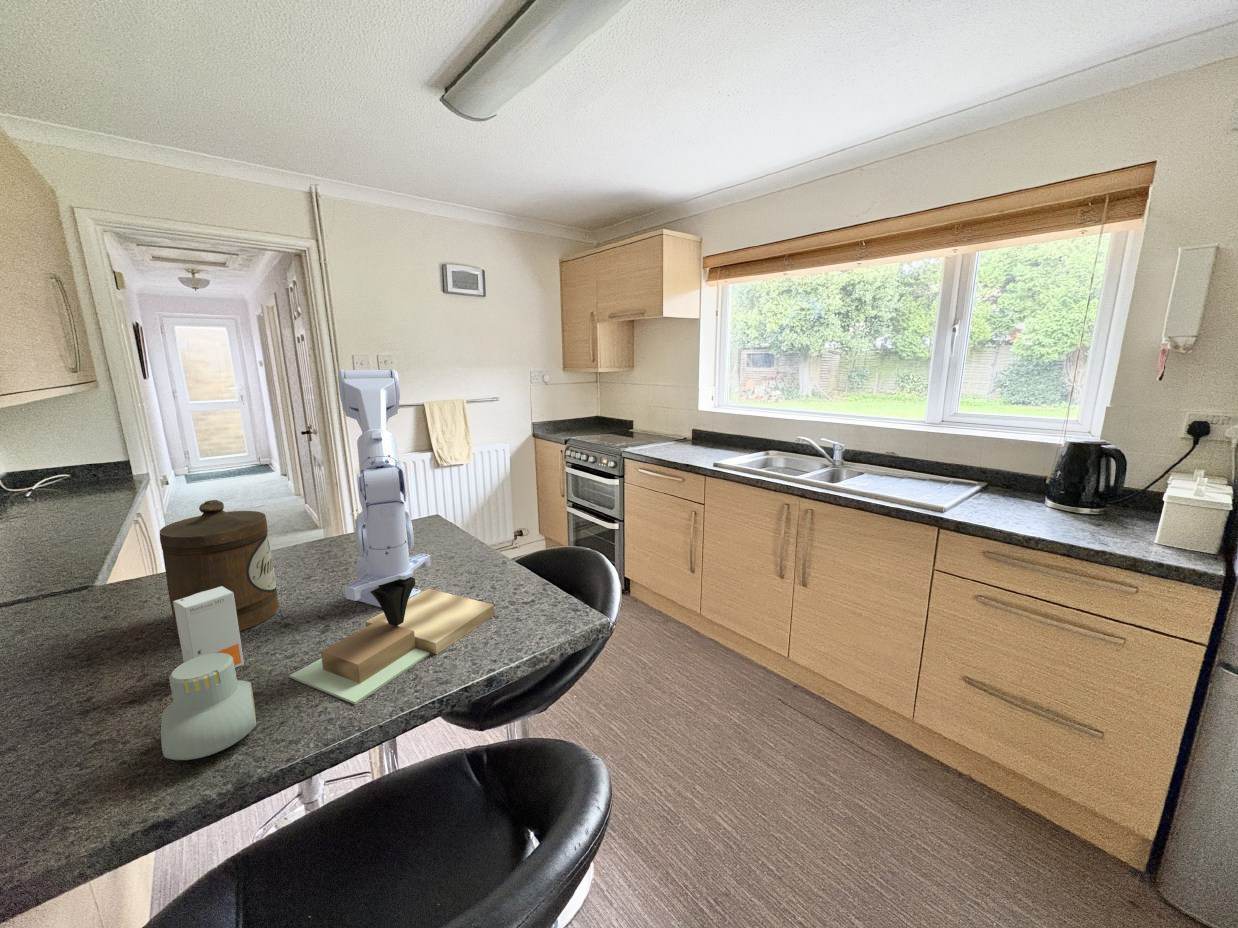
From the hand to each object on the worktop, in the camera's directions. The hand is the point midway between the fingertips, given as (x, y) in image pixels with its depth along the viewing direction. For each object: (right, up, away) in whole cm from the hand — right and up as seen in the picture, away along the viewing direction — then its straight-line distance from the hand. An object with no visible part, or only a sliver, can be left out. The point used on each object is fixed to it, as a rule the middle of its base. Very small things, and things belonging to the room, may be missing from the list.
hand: (395, 622), depth 81 cm
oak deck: (+3, -2, +7) cm, 8 cm away
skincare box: (-24, -5, -6) cm, 26 cm away
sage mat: (-3, -5, -5) cm, 8 cm away
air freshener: (-13, -8, -20) cm, 25 cm away
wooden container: (-34, -2, +10) cm, 36 cm away
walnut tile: (-2, -4, -4) cm, 6 cm away
